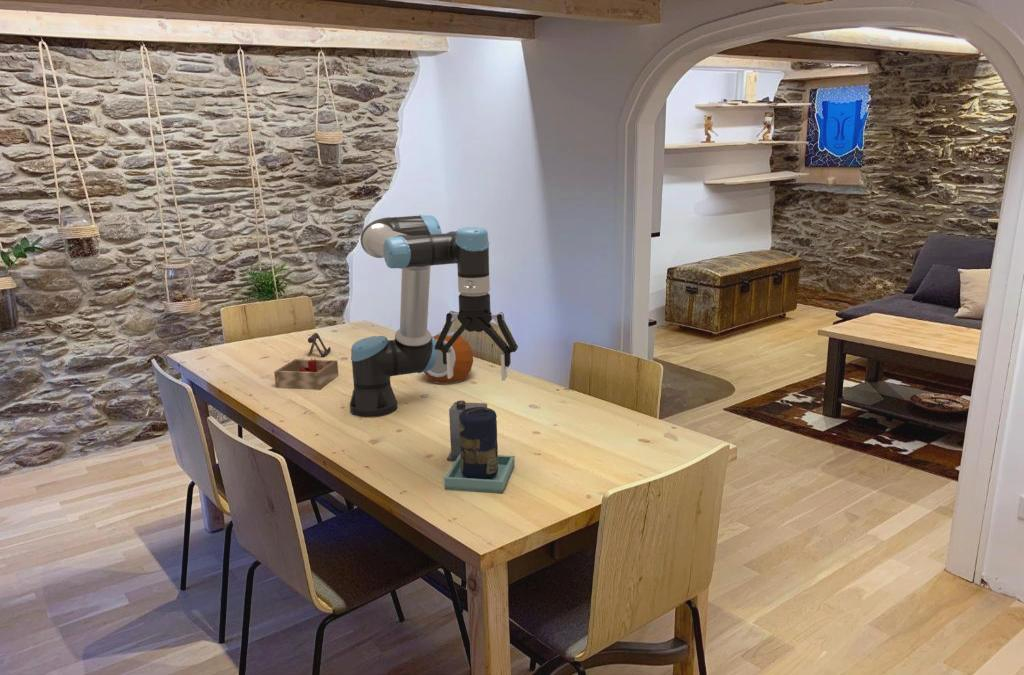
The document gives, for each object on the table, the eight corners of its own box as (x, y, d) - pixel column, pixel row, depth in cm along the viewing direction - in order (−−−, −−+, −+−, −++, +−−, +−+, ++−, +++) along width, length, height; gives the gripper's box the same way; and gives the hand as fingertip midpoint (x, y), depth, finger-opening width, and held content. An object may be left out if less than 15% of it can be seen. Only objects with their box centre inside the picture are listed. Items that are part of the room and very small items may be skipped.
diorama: (337, 381, 271) (335, 359, 269) (304, 387, 266) (302, 364, 264) (329, 374, 280) (327, 352, 278) (297, 379, 275) (295, 357, 273)
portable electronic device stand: (325, 357, 303) (323, 337, 301) (306, 358, 303) (304, 338, 301) (331, 351, 311) (329, 332, 309) (312, 352, 311) (310, 332, 309)
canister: (460, 468, 194) (457, 402, 189) (497, 465, 195) (494, 400, 190) (462, 484, 185) (458, 416, 180) (500, 481, 186) (497, 413, 181)
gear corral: (275, 387, 265) (274, 371, 264) (296, 374, 281) (295, 359, 279) (320, 389, 262) (318, 373, 261) (338, 376, 277) (337, 360, 276)
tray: (444, 489, 184) (444, 478, 183) (460, 463, 199) (460, 453, 198) (502, 493, 181) (502, 481, 180) (514, 466, 196) (514, 456, 195)
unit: (446, 460, 201) (444, 406, 197) (454, 449, 208) (452, 396, 204) (486, 463, 198) (484, 408, 195) (492, 451, 206) (491, 398, 202)
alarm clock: (412, 383, 267) (410, 336, 263) (435, 369, 283) (433, 325, 279) (460, 388, 260) (459, 340, 256) (481, 374, 276) (480, 328, 272)
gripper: (419, 295, 177) (423, 380, 182) (522, 297, 172) (524, 384, 177) (428, 289, 184) (432, 371, 189) (528, 290, 179) (529, 375, 184)
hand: (477, 378), depth 183 cm, fingers open, 13 cm apart
